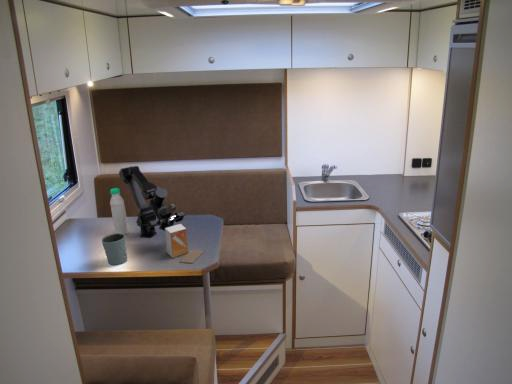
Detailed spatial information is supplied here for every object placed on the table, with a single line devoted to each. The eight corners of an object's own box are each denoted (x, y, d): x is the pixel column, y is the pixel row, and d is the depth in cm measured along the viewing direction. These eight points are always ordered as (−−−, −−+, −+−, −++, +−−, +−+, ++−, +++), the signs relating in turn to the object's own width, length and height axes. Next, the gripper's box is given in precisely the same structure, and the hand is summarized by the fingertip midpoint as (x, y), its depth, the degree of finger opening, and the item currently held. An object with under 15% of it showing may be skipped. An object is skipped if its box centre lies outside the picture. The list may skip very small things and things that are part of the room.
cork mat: (179, 262, 195) (179, 261, 195) (191, 250, 206) (191, 249, 206) (192, 263, 193) (192, 262, 193) (204, 251, 204) (204, 250, 204)
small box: (172, 258, 200) (170, 233, 195) (166, 252, 205) (164, 227, 200) (188, 253, 204) (186, 228, 199) (182, 247, 209) (180, 223, 204)
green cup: (132, 257, 204) (128, 233, 200) (121, 267, 194) (117, 242, 191) (113, 256, 206) (109, 232, 203) (101, 266, 197) (96, 242, 193)
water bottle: (119, 237, 228) (111, 191, 221) (113, 233, 233) (105, 189, 226) (131, 233, 233) (124, 188, 225) (125, 229, 238) (118, 186, 230)
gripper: (145, 205, 198) (160, 233, 192) (180, 194, 209) (195, 221, 204) (140, 217, 206) (154, 245, 201) (174, 207, 217) (189, 233, 212)
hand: (173, 235), depth 204 cm, fingers closed
